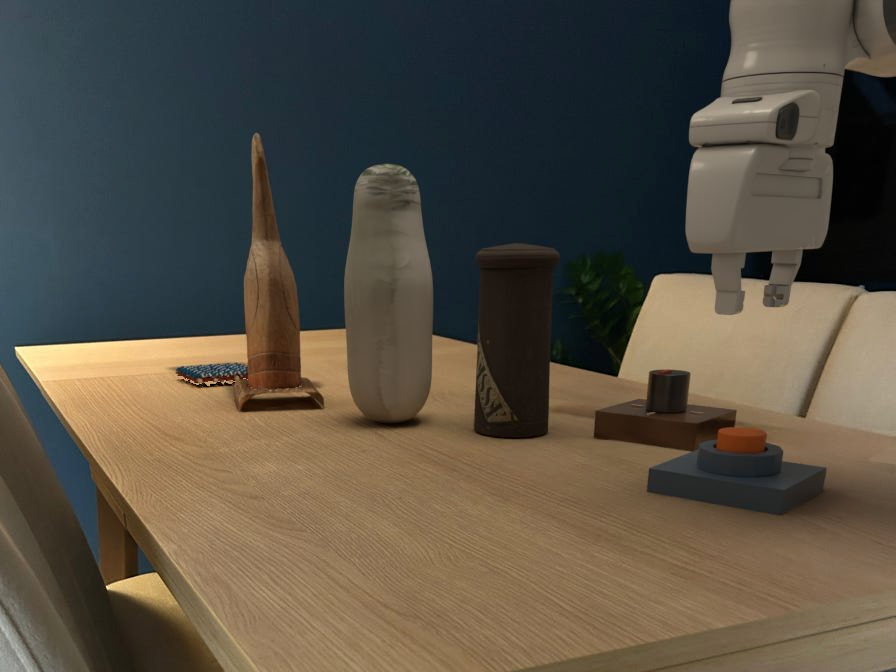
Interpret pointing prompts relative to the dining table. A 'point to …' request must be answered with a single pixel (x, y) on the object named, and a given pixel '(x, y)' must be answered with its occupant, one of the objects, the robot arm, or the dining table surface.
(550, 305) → the container
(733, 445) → the orange push button
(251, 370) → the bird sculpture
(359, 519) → the dining table surface
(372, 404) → the grey rounded cylinder
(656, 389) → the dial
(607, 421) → the dial panel
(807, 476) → the housing
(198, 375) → the woven mat
